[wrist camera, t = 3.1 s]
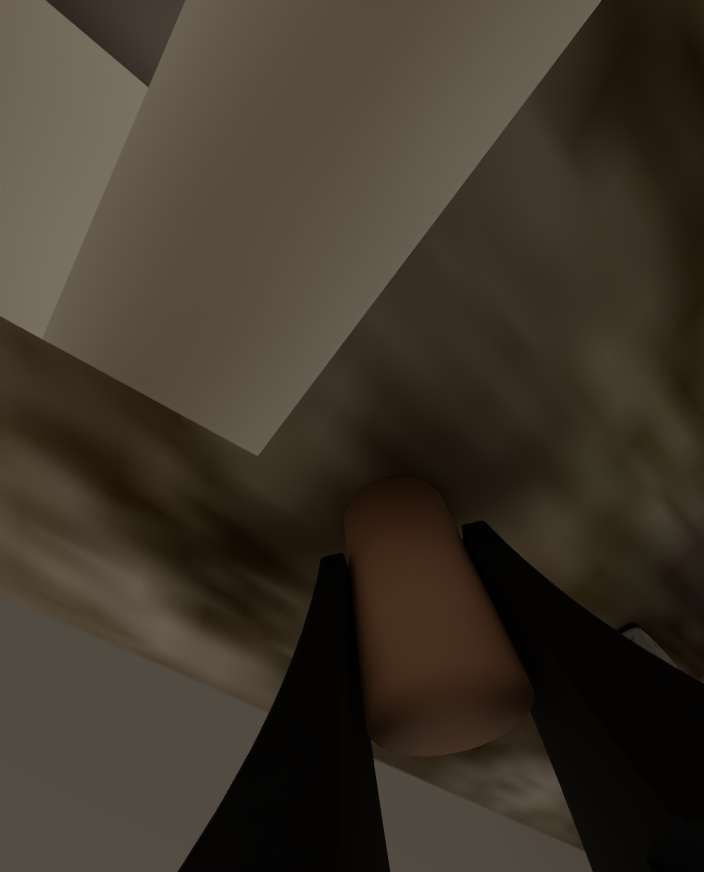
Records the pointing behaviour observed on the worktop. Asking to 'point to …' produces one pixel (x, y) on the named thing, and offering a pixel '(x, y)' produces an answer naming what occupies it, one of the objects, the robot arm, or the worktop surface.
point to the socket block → (240, 176)
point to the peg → (426, 627)
